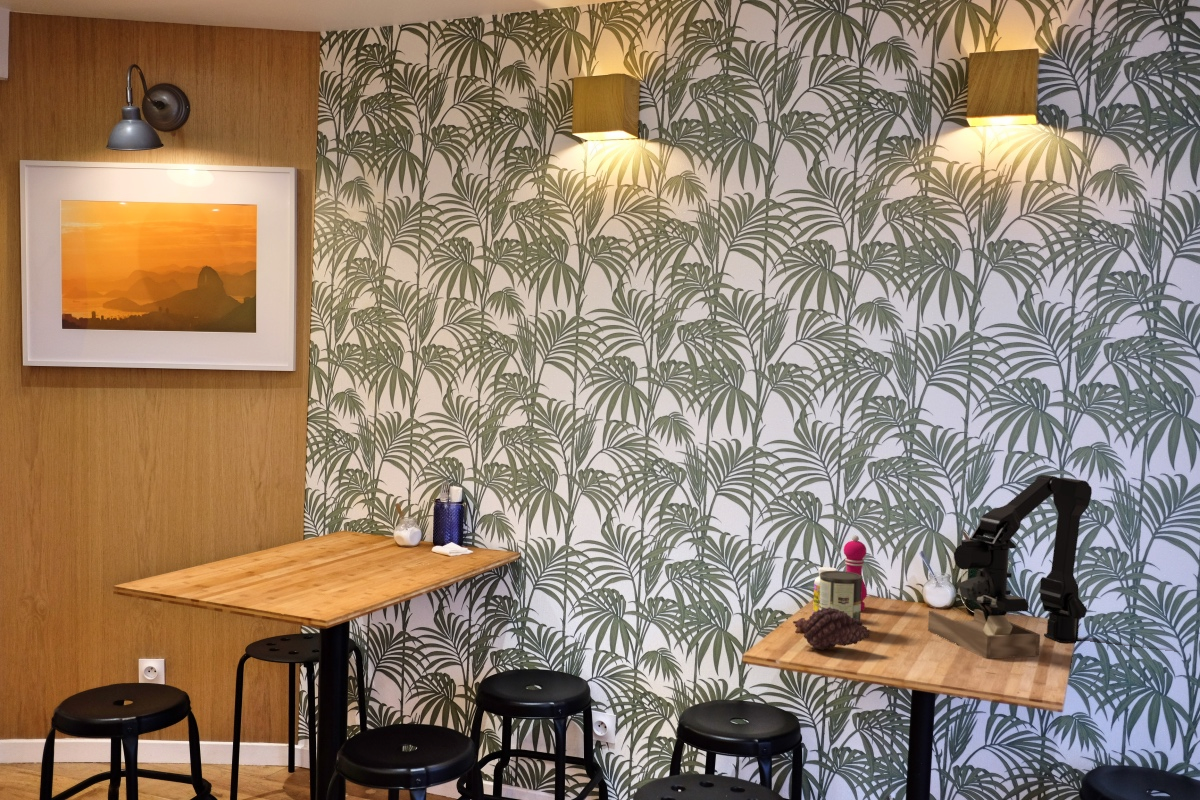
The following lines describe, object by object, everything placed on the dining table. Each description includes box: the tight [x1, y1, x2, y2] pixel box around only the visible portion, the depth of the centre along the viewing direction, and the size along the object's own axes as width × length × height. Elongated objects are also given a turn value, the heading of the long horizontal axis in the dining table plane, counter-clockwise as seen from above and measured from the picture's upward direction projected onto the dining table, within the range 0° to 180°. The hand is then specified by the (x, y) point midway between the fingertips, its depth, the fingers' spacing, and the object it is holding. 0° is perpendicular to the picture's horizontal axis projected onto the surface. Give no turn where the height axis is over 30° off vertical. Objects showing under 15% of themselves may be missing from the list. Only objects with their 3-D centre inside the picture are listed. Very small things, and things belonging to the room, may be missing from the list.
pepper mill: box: [843, 534, 868, 612], centre depth 284 cm, size 7×7×20 cm
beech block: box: [983, 615, 1012, 635], centre depth 246 cm, size 4×4×4 cm
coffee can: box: [819, 570, 863, 621], centre depth 260 cm, size 10×10×14 cm
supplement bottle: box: [812, 566, 838, 614], centre depth 274 cm, size 7×7×13 cm
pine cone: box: [792, 607, 871, 652], centre depth 243 cm, size 18×10×10 cm, turn 72°
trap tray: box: [927, 608, 1041, 659], centre depth 254 cm, size 14×24×5 cm, turn 15°
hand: (991, 632), depth 250 cm, fingers closed
